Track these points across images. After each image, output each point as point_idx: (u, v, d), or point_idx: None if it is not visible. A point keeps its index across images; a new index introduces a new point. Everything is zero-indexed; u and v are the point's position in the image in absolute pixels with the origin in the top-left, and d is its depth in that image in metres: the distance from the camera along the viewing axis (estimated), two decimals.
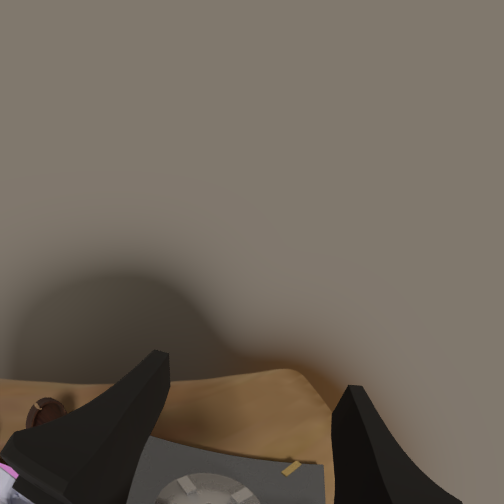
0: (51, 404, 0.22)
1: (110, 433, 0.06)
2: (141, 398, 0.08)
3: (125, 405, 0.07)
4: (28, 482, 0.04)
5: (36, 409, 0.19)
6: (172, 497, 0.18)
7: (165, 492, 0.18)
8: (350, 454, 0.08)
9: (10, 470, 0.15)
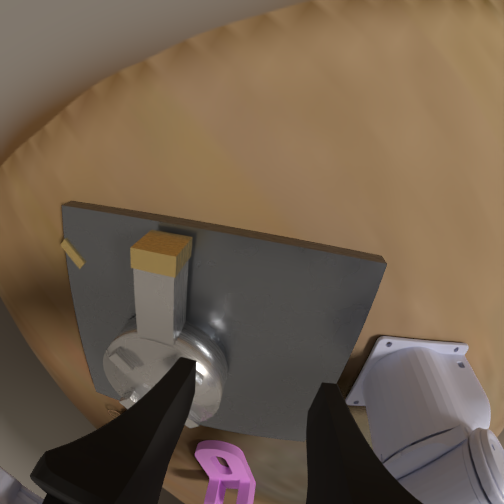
0: None
1: (148, 447, 0.06)
2: (173, 408, 0.08)
3: (159, 416, 0.07)
4: (58, 501, 0.04)
5: None
6: None
7: None
8: (321, 453, 0.08)
9: (206, 468, 0.30)
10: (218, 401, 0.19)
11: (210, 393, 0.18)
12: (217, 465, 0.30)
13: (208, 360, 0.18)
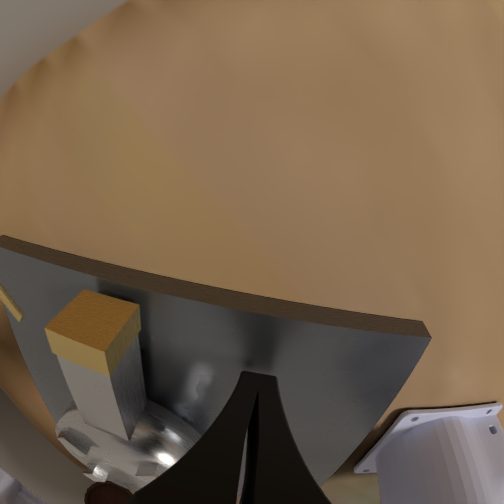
0: None
1: (240, 469, 0.06)
2: None
3: (241, 436, 0.07)
4: None
5: None
6: (119, 481, 0.14)
7: (117, 483, 0.14)
8: (251, 446, 0.08)
9: None
10: None
11: None
12: None
13: (178, 452, 0.12)
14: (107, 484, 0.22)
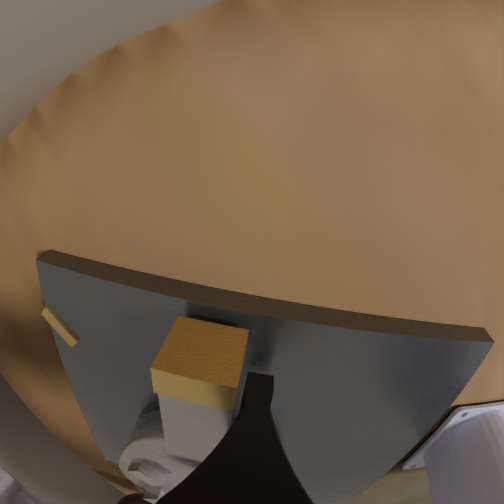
0: None
1: (260, 472, 0.06)
2: None
3: (260, 438, 0.07)
4: None
5: None
6: None
7: None
8: None
9: None
10: None
11: None
12: None
13: None
14: (138, 496, 0.22)
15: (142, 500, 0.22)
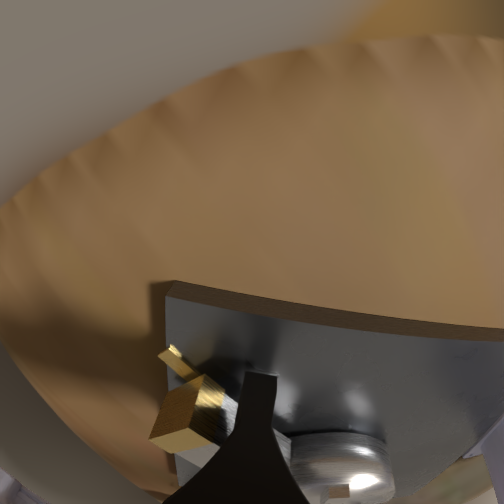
0: None
1: (265, 473, 0.06)
2: None
3: (264, 439, 0.07)
4: None
5: None
6: None
7: None
8: None
9: None
10: (387, 485, 0.10)
11: (372, 486, 0.10)
12: None
13: (343, 464, 0.11)
14: None
15: None
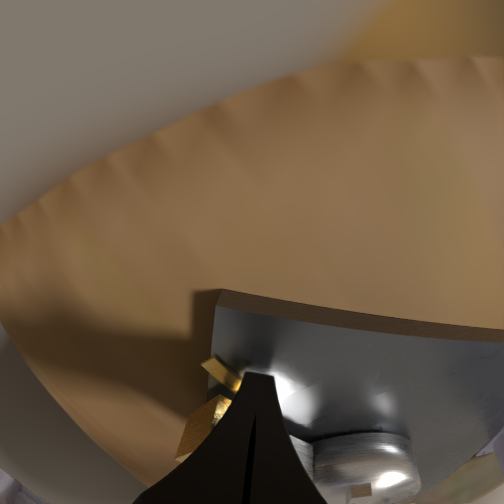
0: None
1: (244, 470, 0.06)
2: (252, 425, 0.08)
3: (245, 436, 0.07)
4: None
5: None
6: None
7: None
8: (249, 446, 0.08)
9: None
10: (411, 479, 0.10)
11: (395, 482, 0.10)
12: None
13: (363, 464, 0.11)
14: None
15: None
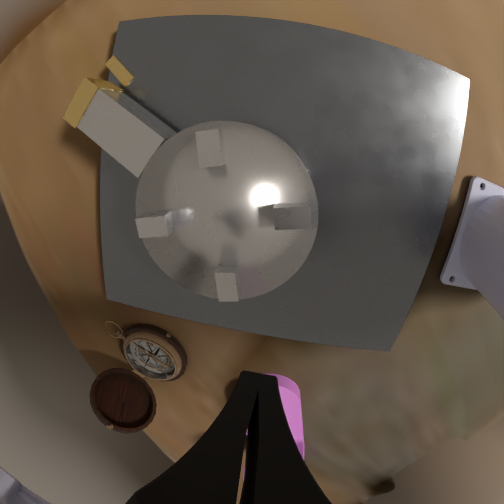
0: (97, 399, 0.21)
1: (240, 469, 0.06)
2: None
3: (241, 436, 0.07)
4: None
5: (114, 428, 0.19)
6: (261, 272, 0.15)
7: (268, 284, 0.15)
8: (251, 446, 0.08)
9: None
10: (280, 143, 0.12)
11: (258, 143, 0.12)
12: None
13: None
14: (122, 374, 0.24)
15: (126, 380, 0.24)
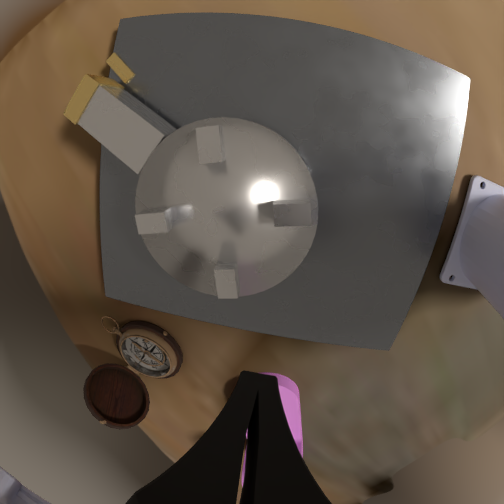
0: (91, 394, 0.21)
1: (240, 469, 0.06)
2: None
3: (241, 436, 0.07)
4: None
5: (107, 423, 0.19)
6: (261, 269, 0.15)
7: (267, 282, 0.15)
8: (251, 446, 0.08)
9: None
10: (280, 140, 0.12)
11: (258, 139, 0.12)
12: None
13: None
14: (116, 369, 0.24)
15: (120, 375, 0.24)
